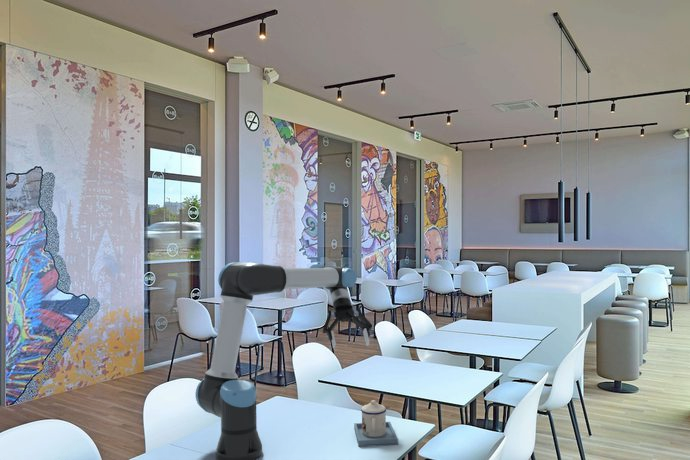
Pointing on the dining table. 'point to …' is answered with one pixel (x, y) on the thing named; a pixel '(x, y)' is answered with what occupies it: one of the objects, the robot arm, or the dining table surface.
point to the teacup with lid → (373, 419)
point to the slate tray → (386, 439)
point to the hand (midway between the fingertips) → (351, 345)
